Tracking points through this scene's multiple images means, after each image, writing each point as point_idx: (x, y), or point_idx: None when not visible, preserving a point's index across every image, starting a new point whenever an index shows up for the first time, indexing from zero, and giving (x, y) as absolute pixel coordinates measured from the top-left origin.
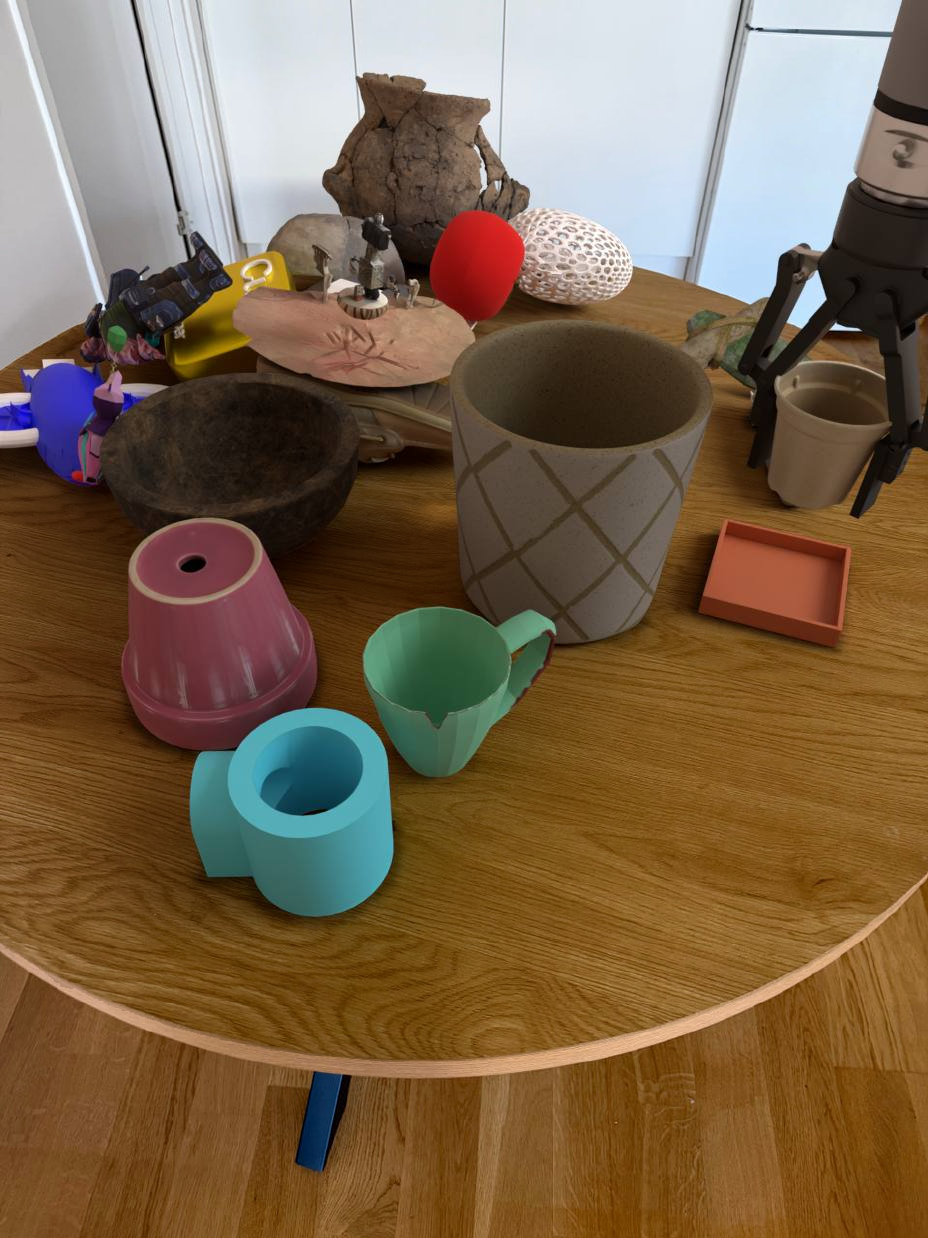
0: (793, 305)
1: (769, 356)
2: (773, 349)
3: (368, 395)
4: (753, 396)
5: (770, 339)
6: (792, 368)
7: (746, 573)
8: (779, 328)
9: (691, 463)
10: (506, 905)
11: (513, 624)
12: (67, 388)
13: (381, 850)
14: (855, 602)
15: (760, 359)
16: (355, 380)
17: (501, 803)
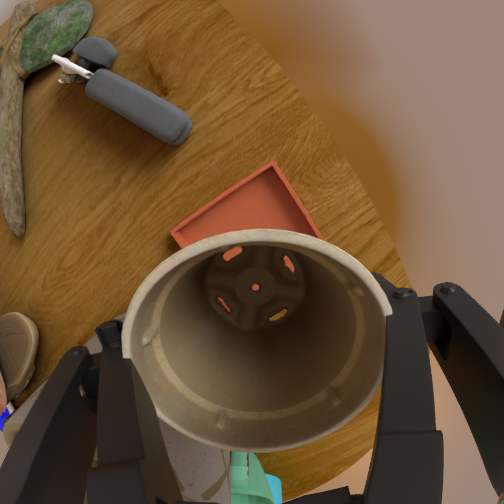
0: (46, 449)
1: (83, 356)
2: (44, 25)
3: (7, 387)
4: (64, 80)
5: (87, 425)
6: (136, 370)
7: (230, 254)
8: (71, 422)
9: (218, 471)
10: (315, 461)
11: (236, 485)
12: (2, 429)
13: (279, 492)
14: (310, 197)
15: (91, 380)
16: (2, 397)
17: (280, 451)
